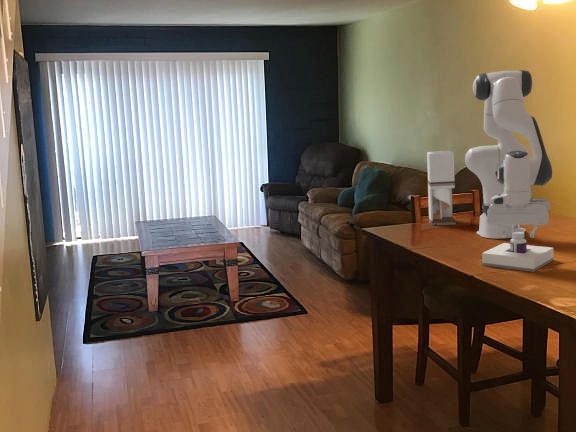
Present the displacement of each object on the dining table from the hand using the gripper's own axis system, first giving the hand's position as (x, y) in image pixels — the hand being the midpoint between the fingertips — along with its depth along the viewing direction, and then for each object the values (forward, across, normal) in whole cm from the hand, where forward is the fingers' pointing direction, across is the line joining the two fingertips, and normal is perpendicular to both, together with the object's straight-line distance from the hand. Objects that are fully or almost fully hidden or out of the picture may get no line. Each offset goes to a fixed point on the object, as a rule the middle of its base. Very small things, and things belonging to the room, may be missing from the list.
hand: (517, 236), depth 205 cm
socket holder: (+9, 0, 0) cm, 9 cm away
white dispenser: (+11, +38, -73) cm, 83 cm away
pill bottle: (+8, 0, 0) cm, 9 cm away
